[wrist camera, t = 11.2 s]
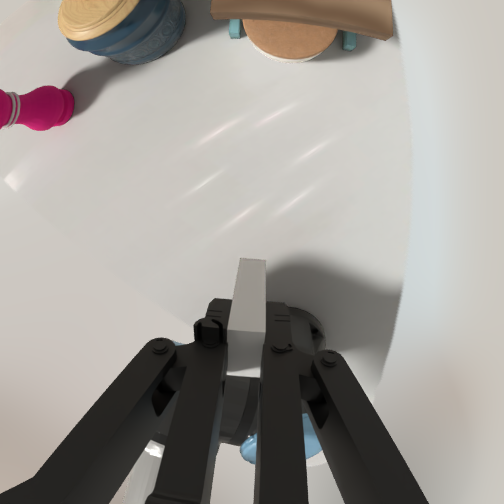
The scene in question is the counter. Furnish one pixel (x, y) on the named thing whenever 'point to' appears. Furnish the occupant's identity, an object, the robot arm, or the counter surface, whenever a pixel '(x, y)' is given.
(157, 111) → the counter surface
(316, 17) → the overhang shelf
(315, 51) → the lidded jar
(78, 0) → the canister
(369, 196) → the counter surface
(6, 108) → the pepper mill
